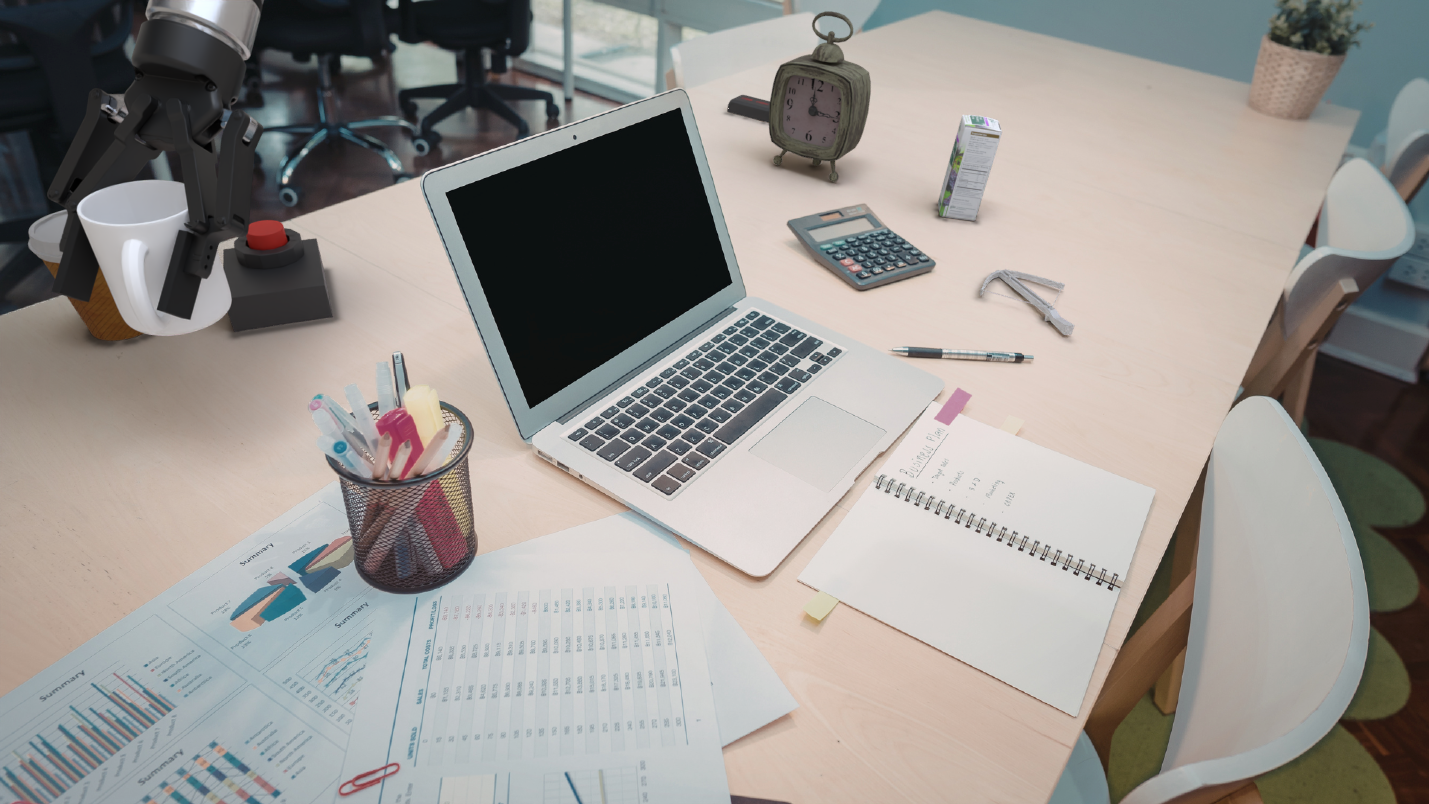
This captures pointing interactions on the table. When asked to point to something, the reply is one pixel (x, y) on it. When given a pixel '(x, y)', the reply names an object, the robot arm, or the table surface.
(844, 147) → the tabletop clock
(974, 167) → the syrup box
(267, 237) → the button
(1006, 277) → the crossbow
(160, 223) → the mug
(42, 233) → the disposable coffee cup
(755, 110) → the usb drive
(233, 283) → the red mushroom button box
